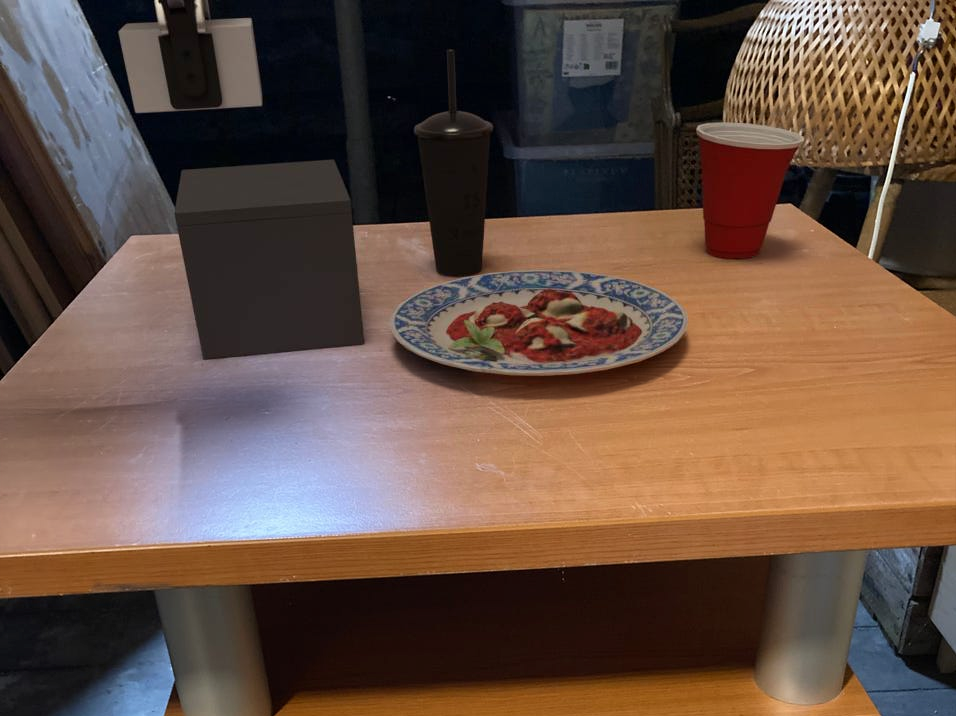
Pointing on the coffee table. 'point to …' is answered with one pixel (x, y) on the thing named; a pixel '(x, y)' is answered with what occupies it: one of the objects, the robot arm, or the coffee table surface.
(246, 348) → the dark lidded cube box
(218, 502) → the coffee table surface
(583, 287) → the ceramic plate
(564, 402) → the coffee table surface
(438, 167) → the drinking cup
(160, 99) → the light gray rectangular block
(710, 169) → the plastic cup
